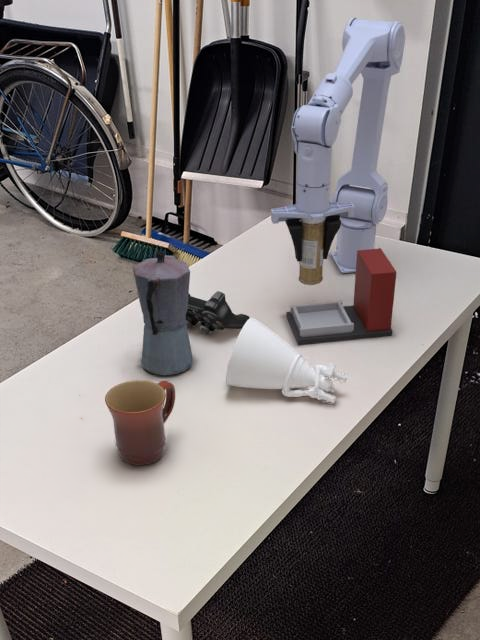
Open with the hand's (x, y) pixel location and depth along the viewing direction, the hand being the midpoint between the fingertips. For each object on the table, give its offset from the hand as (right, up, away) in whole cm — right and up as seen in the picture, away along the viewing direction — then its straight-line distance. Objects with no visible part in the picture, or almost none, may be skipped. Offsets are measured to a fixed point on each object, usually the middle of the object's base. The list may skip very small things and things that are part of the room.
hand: (311, 258), depth 155 cm
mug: (-27, -37, -25) cm, 52 cm away
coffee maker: (+5, -12, +2) cm, 13 cm away
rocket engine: (-6, -27, -14) cm, 31 cm away
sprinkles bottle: (0, -3, +3) cm, 5 cm away
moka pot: (-25, -21, -7) cm, 34 cm away
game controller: (-20, -12, +4) cm, 23 cm away
